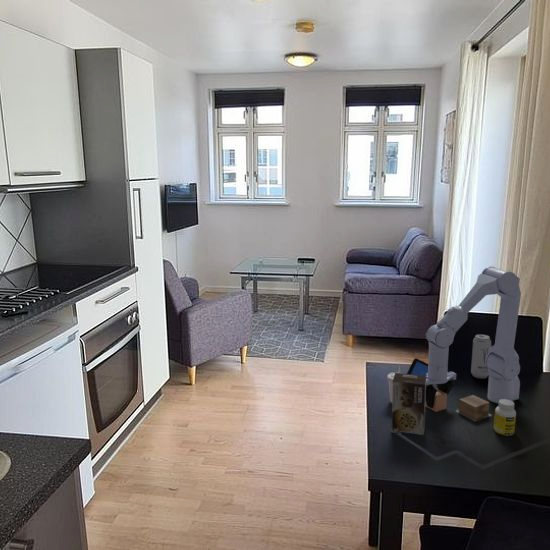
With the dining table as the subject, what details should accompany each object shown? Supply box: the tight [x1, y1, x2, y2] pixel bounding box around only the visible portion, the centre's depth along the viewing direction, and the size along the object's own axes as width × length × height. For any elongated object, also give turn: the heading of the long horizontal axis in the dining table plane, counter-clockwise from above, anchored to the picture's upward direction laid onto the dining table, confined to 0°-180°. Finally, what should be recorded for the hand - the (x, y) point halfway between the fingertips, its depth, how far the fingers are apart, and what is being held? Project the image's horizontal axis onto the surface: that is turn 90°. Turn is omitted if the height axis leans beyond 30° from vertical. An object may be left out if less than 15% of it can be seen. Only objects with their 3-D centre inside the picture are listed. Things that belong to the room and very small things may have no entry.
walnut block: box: [458, 394, 490, 420], centre depth 152 cm, size 6×6×4 cm
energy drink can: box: [470, 333, 492, 379], centre depth 180 cm, size 6×6×15 cm
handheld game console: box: [406, 358, 428, 376], centre depth 174 cm, size 12×11×7 cm
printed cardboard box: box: [391, 372, 426, 436], centre depth 143 cm, size 9×6×16 cm
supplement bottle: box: [493, 399, 517, 437], centre depth 140 cm, size 5×5×10 cm
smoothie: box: [386, 362, 404, 404], centre depth 159 cm, size 6×6×14 cm
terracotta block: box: [425, 388, 448, 413], centre depth 156 cm, size 4×4×5 cm
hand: (435, 404), depth 156 cm, fingers closed on terracotta block, 4 cm apart
